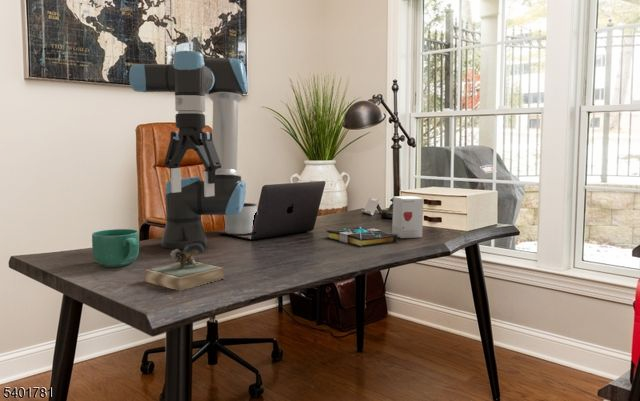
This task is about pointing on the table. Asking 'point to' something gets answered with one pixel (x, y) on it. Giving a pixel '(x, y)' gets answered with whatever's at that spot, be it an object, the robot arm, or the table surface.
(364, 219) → the table surface
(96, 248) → the mug
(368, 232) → the book
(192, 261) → the brown animal figurine
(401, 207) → the supplement box
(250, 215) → the planter
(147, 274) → the pedestal
